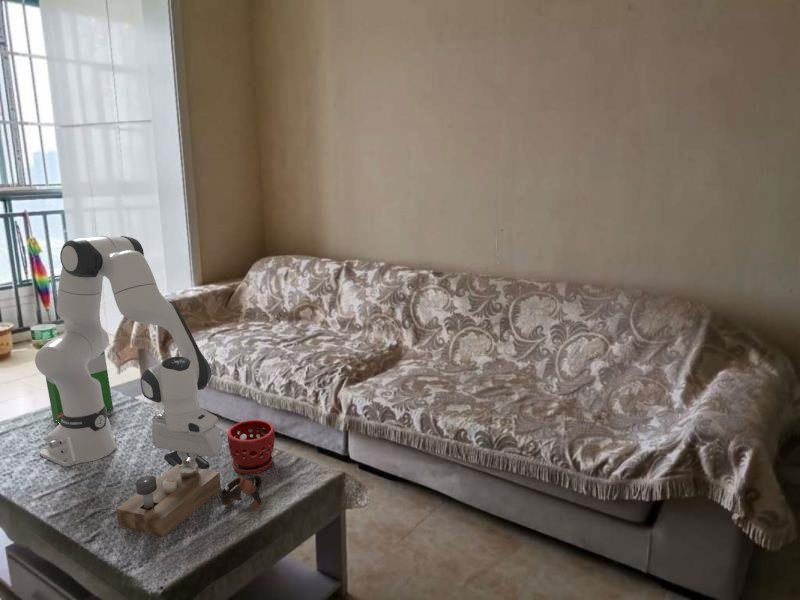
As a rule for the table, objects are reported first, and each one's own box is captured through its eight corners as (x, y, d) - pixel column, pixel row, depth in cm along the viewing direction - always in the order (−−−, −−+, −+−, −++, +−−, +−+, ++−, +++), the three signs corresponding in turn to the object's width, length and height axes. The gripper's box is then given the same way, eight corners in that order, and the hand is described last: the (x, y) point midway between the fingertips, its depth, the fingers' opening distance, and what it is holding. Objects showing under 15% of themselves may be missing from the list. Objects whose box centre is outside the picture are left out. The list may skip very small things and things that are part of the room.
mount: (118, 526, 143) (115, 508, 142) (179, 480, 163) (177, 464, 162) (164, 537, 138) (161, 519, 137) (221, 488, 158) (219, 472, 157)
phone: (187, 446, 180) (210, 463, 170) (187, 449, 181) (210, 466, 170) (162, 455, 175) (184, 473, 165) (162, 459, 175) (184, 477, 165)
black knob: (134, 509, 141) (131, 484, 139) (148, 498, 145) (145, 474, 144) (149, 512, 140) (146, 487, 138) (163, 502, 144) (159, 477, 142)
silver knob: (178, 491, 156) (175, 468, 154) (189, 482, 160) (187, 460, 158) (192, 494, 154) (189, 471, 153) (203, 485, 159) (201, 462, 157)
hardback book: (105, 402, 216) (95, 341, 211) (113, 408, 211) (103, 346, 206) (53, 418, 204) (41, 354, 198) (60, 424, 199) (48, 359, 193)
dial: (160, 491, 148) (159, 482, 148) (169, 485, 151) (168, 475, 151) (171, 493, 147) (169, 484, 147) (179, 487, 150) (178, 477, 150)
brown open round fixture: (250, 520, 145) (231, 496, 143) (228, 525, 150) (209, 501, 148) (277, 486, 154) (259, 462, 153) (255, 491, 160) (237, 468, 158)
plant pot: (224, 478, 163) (220, 439, 161) (239, 454, 176) (235, 418, 173) (270, 478, 163) (266, 440, 160) (281, 455, 176) (278, 419, 173)
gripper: (143, 418, 153) (150, 465, 156) (207, 428, 146) (213, 477, 149) (160, 408, 159) (166, 454, 162) (222, 417, 152) (227, 465, 155)
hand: (189, 465), depth 156 cm, fingers closed, pressing on silver knob
